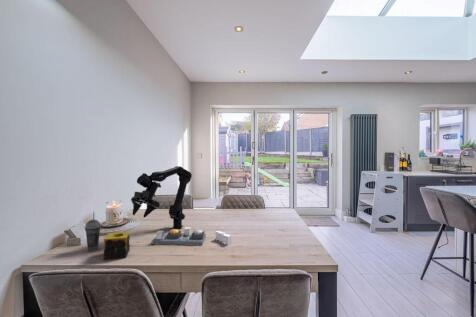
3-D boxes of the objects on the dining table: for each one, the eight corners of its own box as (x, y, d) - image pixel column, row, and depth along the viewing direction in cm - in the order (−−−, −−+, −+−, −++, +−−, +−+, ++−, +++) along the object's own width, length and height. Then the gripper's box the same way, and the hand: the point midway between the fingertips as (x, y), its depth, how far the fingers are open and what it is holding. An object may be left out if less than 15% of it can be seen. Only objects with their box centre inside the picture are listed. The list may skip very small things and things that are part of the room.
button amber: (171, 232, 145) (171, 229, 145) (179, 232, 145) (179, 229, 145) (168, 235, 140) (168, 231, 140) (177, 235, 140) (177, 231, 140)
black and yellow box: (103, 260, 116) (103, 239, 116) (108, 251, 125) (108, 232, 125) (126, 258, 118) (126, 237, 118) (129, 250, 128) (129, 231, 128)
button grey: (194, 232, 145) (194, 229, 145) (203, 233, 145) (203, 229, 145) (192, 235, 140) (192, 232, 140) (201, 235, 140) (201, 232, 140)
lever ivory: (185, 233, 148) (185, 227, 148) (190, 233, 148) (190, 227, 148) (184, 235, 145) (184, 228, 145) (189, 235, 145) (189, 228, 145)
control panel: (160, 236, 150) (160, 228, 150) (205, 237, 149) (205, 229, 149) (152, 244, 137) (152, 236, 137) (202, 245, 136) (202, 237, 136)
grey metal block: (158, 237, 141) (158, 230, 140) (163, 237, 141) (163, 230, 140) (156, 239, 138) (156, 232, 137) (161, 239, 138) (161, 232, 137)
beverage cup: (97, 245, 133) (97, 209, 133) (103, 249, 129) (103, 211, 128) (82, 249, 128) (82, 211, 127) (88, 253, 123) (87, 213, 123)
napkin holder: (211, 239, 147) (211, 229, 147) (230, 238, 149) (230, 228, 149) (214, 248, 132) (214, 238, 132) (234, 247, 134) (234, 237, 134)
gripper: (130, 183, 145) (117, 208, 138) (152, 186, 135) (139, 213, 128) (143, 191, 153) (131, 215, 146) (165, 194, 144) (153, 220, 137)
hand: (138, 216), depth 139 cm, fingers open, 9 cm apart
